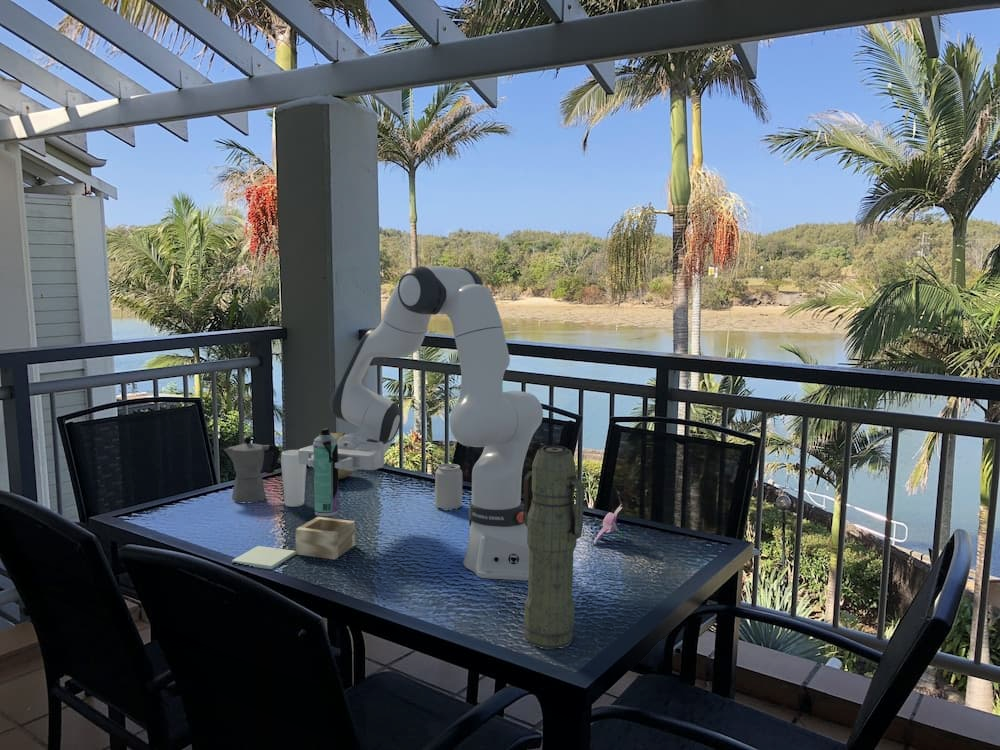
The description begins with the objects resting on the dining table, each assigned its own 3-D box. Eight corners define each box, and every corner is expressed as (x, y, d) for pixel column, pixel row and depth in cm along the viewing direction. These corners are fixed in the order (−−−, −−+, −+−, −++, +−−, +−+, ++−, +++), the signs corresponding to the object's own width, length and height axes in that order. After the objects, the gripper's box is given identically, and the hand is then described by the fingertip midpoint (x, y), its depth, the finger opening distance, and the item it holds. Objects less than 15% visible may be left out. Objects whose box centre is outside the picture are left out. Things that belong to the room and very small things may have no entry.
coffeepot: (222, 504, 219) (220, 441, 217) (227, 495, 228) (226, 434, 226) (279, 502, 222) (278, 440, 220) (282, 493, 231) (281, 433, 229)
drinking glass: (300, 509, 216) (299, 455, 214) (277, 507, 218) (276, 454, 216) (310, 502, 223) (310, 450, 221) (288, 500, 224) (288, 448, 222)
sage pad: (295, 554, 182) (295, 550, 182) (271, 569, 173) (271, 565, 172) (258, 549, 185) (258, 545, 185) (232, 563, 175) (231, 560, 175)
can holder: (355, 545, 189) (355, 521, 188) (334, 559, 179) (334, 534, 178) (317, 540, 192) (317, 516, 191) (295, 554, 182) (295, 529, 181)
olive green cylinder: (531, 621, 149) (536, 440, 145) (588, 637, 143) (595, 448, 139) (507, 639, 142) (512, 448, 138) (566, 656, 136) (573, 458, 131)
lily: (611, 535, 204) (593, 503, 202) (649, 526, 196) (631, 494, 195) (592, 562, 195) (573, 529, 193) (631, 554, 187) (612, 520, 186)
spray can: (343, 512, 184) (342, 428, 182) (323, 517, 180) (321, 431, 178) (330, 508, 188) (328, 425, 185) (310, 512, 184) (308, 428, 182)
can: (467, 506, 222) (467, 465, 221) (451, 513, 216) (452, 470, 214) (445, 502, 226) (446, 461, 225) (429, 508, 220) (430, 466, 218)
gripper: (314, 436, 198) (284, 447, 184) (389, 442, 192) (363, 454, 179) (314, 461, 198) (284, 474, 185) (389, 467, 192) (363, 481, 179)
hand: (324, 464), depth 182 cm, fingers closed on spray can, 5 cm apart
